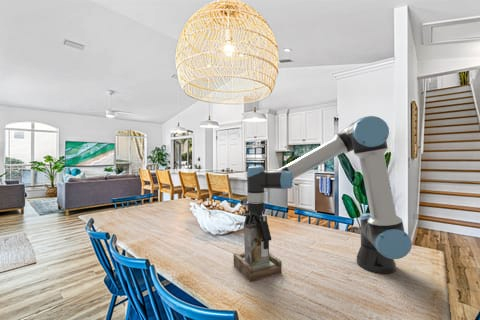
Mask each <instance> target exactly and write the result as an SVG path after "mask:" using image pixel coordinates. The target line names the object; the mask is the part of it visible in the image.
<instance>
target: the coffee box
mask: <svg viewBox="0 0 480 320" xmlns="http://www.w3.org/2000/svg"><path fill="white" fill-rule="evenodd" d="M243 235H244V236H243V238H244V242H243V243H244V253H245V261H246V262H247V263H248V264H249V265H251V266H255V265H259V264H263V263H266V262H269V253H270V241H268V256H265V257H262V256H261V240H262V237H261V235H260V232H259V229H258V226H256V224H255V223H253V224H247V225H244V224H243Z"/></svg>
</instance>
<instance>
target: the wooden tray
mask: <svg viewBox="0 0 480 320" xmlns="http://www.w3.org/2000/svg"><path fill="white" fill-rule="evenodd" d="M282 265H283V264H282V260H281V259H279V258H278V257H276V256H275V255H274V254H272V253H270V252H269V262H266V263H263V264H259V265H255V266H251V265H249V264H248V263H247V262H246V261H245V252H241V253H237V252H236V253H233V266H234V267H235V268H236V269H237V270H238V271H239V272H240V273H241V274H242V275H243V276H244V278H246V280H247V281H249V282H250V283H252V282H255V281H258V280H262V279H267V278H269V277H270V278H271V277H273V276H277V275H280V274H283V273H282V272H283V271H282V270H283V269H282V268H283V267H282Z"/></svg>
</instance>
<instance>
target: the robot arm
mask: <svg viewBox="0 0 480 320" xmlns="http://www.w3.org/2000/svg"><path fill="white" fill-rule="evenodd" d="M389 135H390V128H389V125H388V123H387V122H386V121H385V120H384V119H382V118H380V117H379V116H375V115H369V116H367V115H366V116H363V117H360V118H358V119H357V120H355V121H353V122H352V123H350V124H348V126H347V127H346V128H344V129H343V130H342V131H340V132H339V133H337V134H335V135H334V138H332V139H330V140H328V141H327V142H324V143H323V144H322V145H320V146H318V147H316V148H314V149H313V150H310V151H309V152H307V153H305V154H303V155H302V156H300V157H298V158H297V159H295V160H292V161H291V162H289V163H287V164H285V165H284V166H282V167H280V168H278V169H276V170H272V171H271V170H270V171H268V170H265V167H264V166H259V165H258V166H255V165H253V166H249V167H248V168H247V175H246V187H247V189H246V191H247V192H246V193H247V195H246V199H247V200H246V201H247V210H246V213H245V214H246V215H245V220H244V224H243V226H244V225H247V224H253V223H255V224H256V226H258V229H259V232H260V235H261V237H262V240H261V256H262V257H265V256H268V241H269V242H270V241H272V234H271V231H270V228H269V224H268V216H267V215H263V212H264V211H265V210H266V208H265V207H266V206H265V204H266V202H265V196H266V195H265V194H266V193H265V189H267V190H268V189H273V190H274V189H278V190H286V189H287V190H291V189H292V188H293V180H295V179H296V178H298V177H300V176H302V175H304V174H306V173H307V172H310V171H311V170H313V169H315V168H317V167H319V166H321V165H323V164H324V163H326V162H328V161H330V160H333V159H334V158H336V157H337V156H339V155H341V154H343V153H344V154H348V153H350V152H352V151H353V154H354V155H355V156H356V157H358V158H359V163H360V169H361V173H362V179H363V183H364V187H365V194H366V198H367V204H368V208H369V212H367V213H361V215H360V220H359V222H360V248H359V250H358V253H357V255H356V264H357V265H358V266H359V267H361V268H362V269H364V270H366V271H369V272H371V273H372V272H374V273H376V274H377V273H378V274H393V273H394V272H396V270H397V263H396V261H395V260H399V259H403V258H404V257H406V256H407V255H408V254H410V252H411V250H412V247H413V243H412V240H411V237H410V236H409V234H408V233H407V232H406V231H405V227H404V222H403V219H402V218H401V217H399V216H398V215H397V212H396V208H395V202H394V197H393V192H392V187H391V183H390V177H389V173H388V167H387V162H386V157H385V153H386V152H387V151H388V142H387V140H388V138H389Z"/></svg>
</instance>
